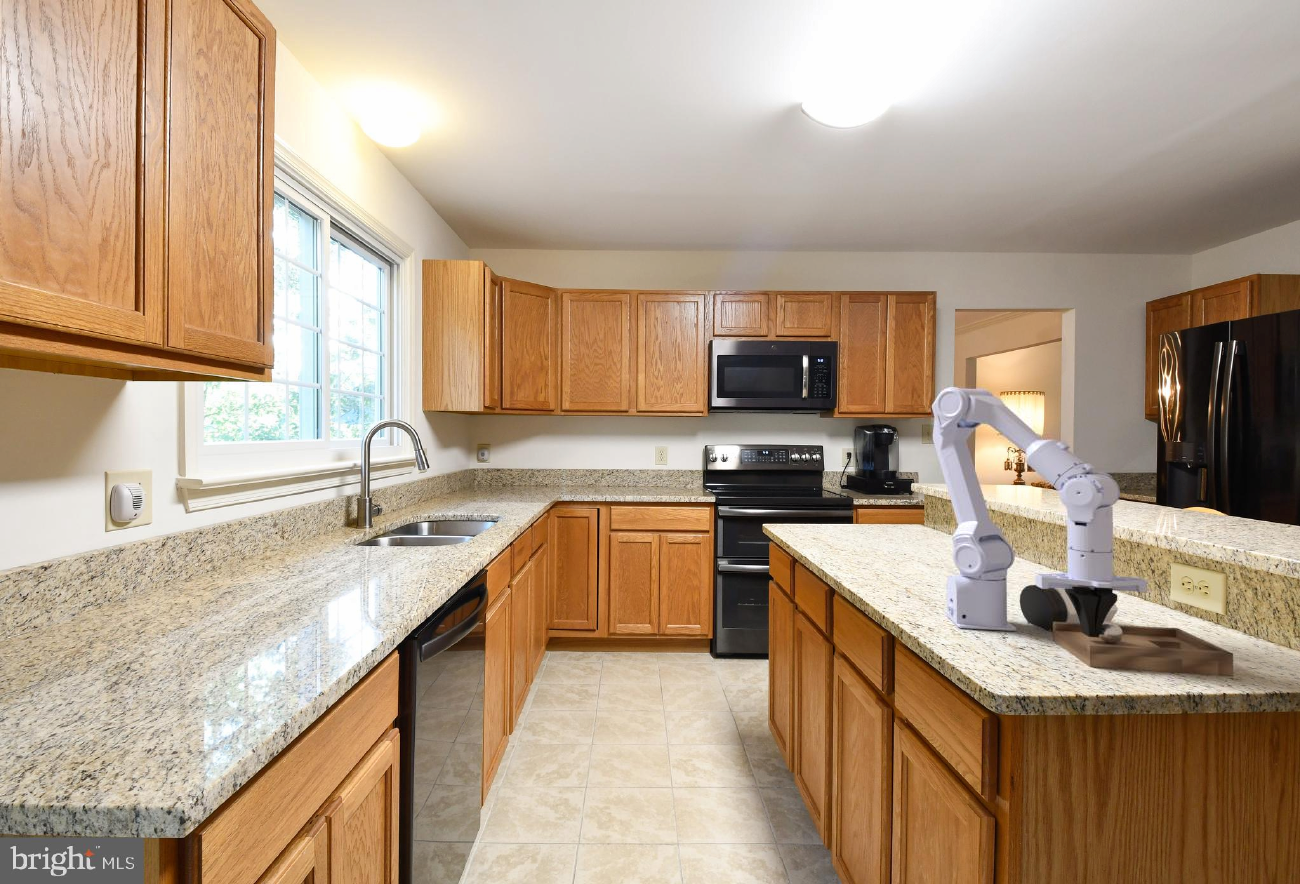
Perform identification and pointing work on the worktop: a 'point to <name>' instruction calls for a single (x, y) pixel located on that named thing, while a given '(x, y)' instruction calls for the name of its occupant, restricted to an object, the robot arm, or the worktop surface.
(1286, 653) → the worktop surface
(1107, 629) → the ball
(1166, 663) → the board
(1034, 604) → the jar
